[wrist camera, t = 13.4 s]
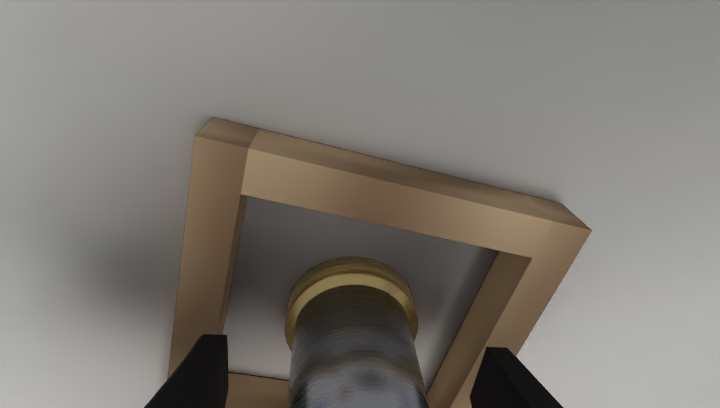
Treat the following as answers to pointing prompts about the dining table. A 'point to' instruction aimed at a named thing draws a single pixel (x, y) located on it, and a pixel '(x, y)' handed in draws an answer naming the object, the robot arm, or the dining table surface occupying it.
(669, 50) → the dining table surface
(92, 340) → the dining table surface
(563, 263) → the rack
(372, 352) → the brass-collared grey cylinder
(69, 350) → the dining table surface
